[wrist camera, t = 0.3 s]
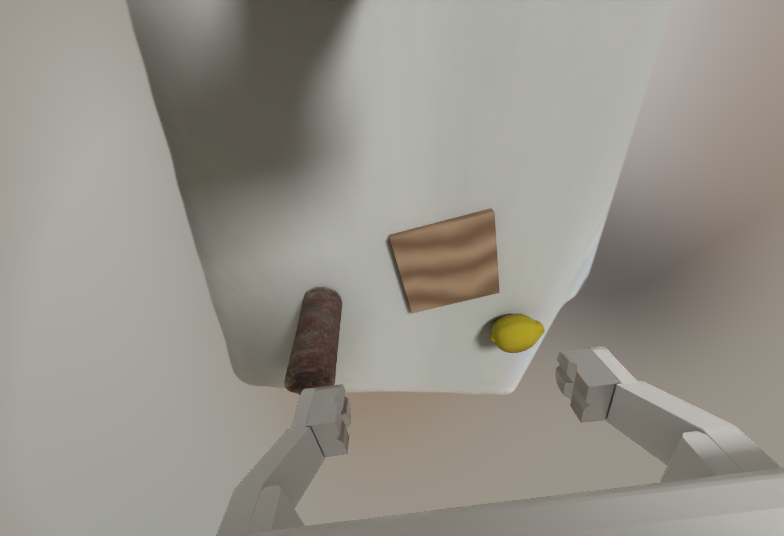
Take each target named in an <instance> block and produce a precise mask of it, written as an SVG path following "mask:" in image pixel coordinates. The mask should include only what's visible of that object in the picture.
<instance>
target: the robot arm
mask: <svg viewBox="0 0 784 536" xmlns="http://www.w3.org/2000/svg"><path fill="white" fill-rule="evenodd" d="M557 361H558V362H559V364H560V365H559V366H558V367H557V368H556V375H555V376H556V381H557V384H558V386H559V388H560V390H561V392H562V393H563V395H564V396H566V397H568V398H569V399H571V404H570V406H571V407H572V409H573V411H574V412H575V414H576V415H577V417H578V418H579V420H580V422H581V423H582V422H592V421H602V420H607V422H608V423H609V424H611V425H612V426H614V427H615V428H616V429H618V430H619V431H620V432H622V433H623V434H625V435H626V436H627V437H629V438H630V439H631V440H633V441H634V442H636V443H637V444H638V445H640V446H642V447H643V448H644V449H645V450H647V451H648V452H649V453H651V454H652V455H654V456H655V457H657V458H658V459H659V460H660V461H662V462H663V463H665V464H666V465H667V467H666V469H665V471H664V473H663V475H662V478H661V483H653V484H645V485H637V486H629V487H621V488H613V489H604V490H596V491H588V492H580V493H571V494H563V495H555V496H547V497H538V498H530V499H522V500H513V501H505V502H497V503H489V504H481V505H473V506H465V507H456V508H448V509H440V510H432V511H424V512H416V513H409V514H400V515H392V516H383V517H375V518H367V519H359V520H351V521H343V522H334V523H326V524H319V525H310V526H305V525H304V524H303V522H302V521H301V519H300V517H299V516H298V514H297V513H296V511H295V507H296V505H297V504H298V502H299V500H300V499H301V497H302V496H303V494H304V492H305V491H306V489H307V487H308V486H309V484H310V482H311V481H312V479H313V478H314V476H315V474H316V473H317V471H318V469H319V468H320V466H321V464H322V463H323V461H324V460H325V458H324V457H329V456H336V455H342V454H347V453H348V443H349V434H348V431H347V428H348V427H349V425H350V422H351V421H350V420H351V408H350V403H349V400H348V398H347V397H345V389H344V386H343V385H342V384H340V385H332V386H323V387H316V388H308V389H303V391H302V392H301V395H300V398H299V402H298V405H297V409H296V413H295V416H294V420H293V424H292V427H291V429H289V430H286V431H285V433H284V434H283V435H282V436H281V437H280V438H279V439H278V440H277V442H276V443H275V444H274V445H273V446H272V447H271V449H270V450H269V451H268V452H267V453H266V454H265V455H264V456H263V457H262V459H261V460H260V461H259V462H258V463H257V464H256V465H255V466H254V468H253V469H252V470H251V471H250V472H249V473H248V474H247V475H246V477H245V478H244V479H243V480H242V481H241V482H240V483H239V485H238V486H237V487H236V488H235V489H234V491H233V494H232V496H231V499H230V501H229V504H228V507H227V509H226V512H225V515H224V517H223V520H222V522H221V525H220V527H219V530H218V533H217V535H216V536H784V467H783V468H781V467H780V466H779V465H778V464H777V463H775V461H773V460H772V459H771V458H770V457H769V456H768V455H767V454H766V453H765V452H763V451H762V450H761V449H760V448H759V447H758V446H756V444H754V443H753V442H752V441H751V440H750V439H749V438H748V437H747V436H746V435H744V434H743V433H742V432H741V431H740V430H739V429H738V428H737V427H736V426H734V425H733V424H731V423H729V422H726V421H724V420H722V419H720V418H718V417H716V416H714V415H712V414H710V413H708V412H706V411H703V410H701V409H699V408H697V407H695V406H693V405H691V404H689V403H687V402H685V401H683V400H681V399H679V398H676V397H674V396H672V395H670V394H668V393H666V392H664V391H662V390H660V389H658V388H656V387H654V386H652V385H649V384H647V383H645V382H643V381H636V379H635V378H634V377H633V376H632V375H631V374H630V373H629V372H628V371H627V370H626V369H625V368H624V367H623V366H622V365H621V364H620V363H619V361H618V360H617V359H616V358H615V357H614V356H613V355H612V354H611V353H610V352H609V351H608V350H607V349H606V348H605V347H603V346H601V347H594V348H588V349H579V350H573V351H567V352H561V353H559V355H558V358H557Z"/></svg>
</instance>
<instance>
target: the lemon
mask: <svg viewBox="0 0 784 536" xmlns="http://www.w3.org/2000/svg"><path fill="white" fill-rule="evenodd" d="M543 333H544V327H543V325H542V324H541V323H540V322H539V321H535V320H533V319H531V318H530V317H528V316H526V315H522V314H509V315H505V316H503V317H501V318H500V319H498V320H497V321H496V322H495V323H494V324H493V326H492V331H491V336H490V340H491V341H492V342H494V343H495V344H496V345H497V346H498V348H500V349H501V350H503V351H505V352H509V353H518V352H522V351H525V350H527V349H529V348H530V347H532V346H533V345H534V344H535V343H536V342H537V340H538V339H539V338H540V337H541V335H542V334H543Z"/></svg>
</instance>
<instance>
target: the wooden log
mask: <svg viewBox="0 0 784 536" xmlns="http://www.w3.org/2000/svg"><path fill="white" fill-rule="evenodd" d="M341 310H342V300H341V298H340V296H339V294H338V293H337V292H335V291H333V290H331V289H328V288H325V287H315V288H313V289H311V290H309V291H307V292H306V294H305V297H304V301H303V305H302V309H301V314H300V318H299V322H298V327H297V331H296V336H295V340H294V343H293V348H292V352H291V356H290V360H289V364H288V368H287V373H286V377H285V387H286V388H287V390H289V391H290V392H294V393H298V394H299V395H301V392H302V391H303V389H308V388H316V387H323V386H332V385H334V383H335V374H336V362H337V351H338V341H339V330H340V321H341Z"/></svg>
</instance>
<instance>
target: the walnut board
mask: <svg viewBox="0 0 784 536" xmlns="http://www.w3.org/2000/svg"><path fill="white" fill-rule="evenodd" d="M389 236H390V241H391V245H392V248H393V251H394V255H395V258H396V261H397V265H398V268H399V271H400V275H401V278H402V282H403V285H404V288H405V292H406V295H407V298H408V302H409V305H410V308H411V312H412V313H415V312H420V311H424V310H428V309H432V308H436V307H441V306H445V305H449V304H453V303H458V302H462V301H466V300H470V299H474V298H479V297H483V296H487V295H491V294H496V293H499V279H498V263H497V247H496V231H495V215H494V211H493V210H492V209H487V210H483V211H480V212H476V213H472V214H468V215H464V216H460V217H457V218H453V219H449V220H445V221H441V222H437V223H434V224H430V225H426V226H422V227H418V228H414V229H411V230H407V231H403V232H399V233H395V234H391V235H389Z"/></svg>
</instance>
